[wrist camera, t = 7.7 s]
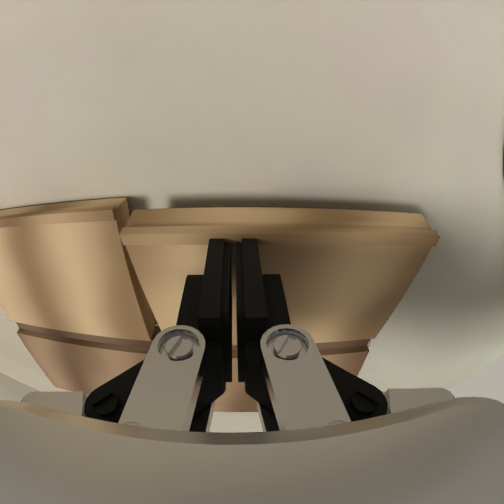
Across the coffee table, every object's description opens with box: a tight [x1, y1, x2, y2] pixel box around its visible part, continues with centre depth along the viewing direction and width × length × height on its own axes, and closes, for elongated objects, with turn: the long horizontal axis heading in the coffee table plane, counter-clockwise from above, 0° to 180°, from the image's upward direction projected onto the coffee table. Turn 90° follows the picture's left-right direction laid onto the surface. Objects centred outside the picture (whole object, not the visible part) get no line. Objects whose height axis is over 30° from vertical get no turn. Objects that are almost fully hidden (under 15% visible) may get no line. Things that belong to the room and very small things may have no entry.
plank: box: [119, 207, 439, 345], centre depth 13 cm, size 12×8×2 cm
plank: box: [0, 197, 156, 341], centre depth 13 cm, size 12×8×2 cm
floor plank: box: [16, 322, 369, 412], centre depth 18 cm, size 25×8×2 cm, turn 89°
